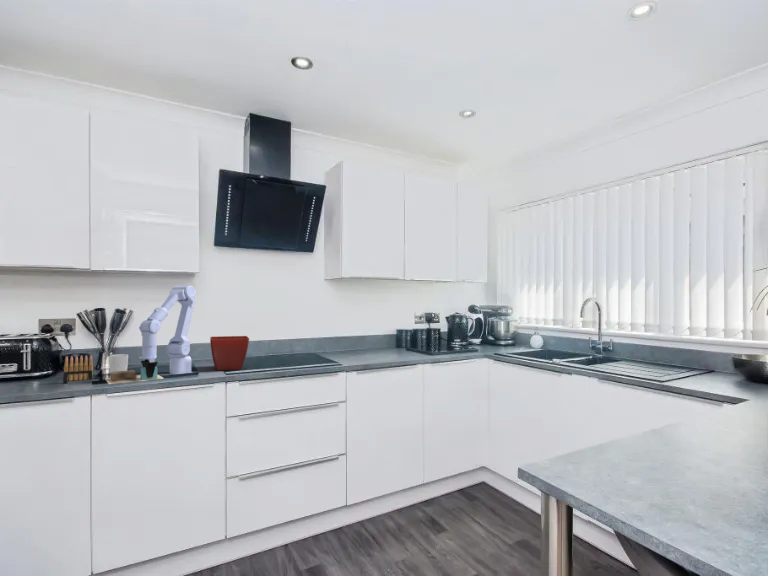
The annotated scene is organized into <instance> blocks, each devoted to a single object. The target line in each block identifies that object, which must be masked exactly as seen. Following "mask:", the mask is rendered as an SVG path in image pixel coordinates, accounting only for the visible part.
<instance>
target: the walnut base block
mask: <svg viewBox="0 0 768 576" xmlns="http://www.w3.org/2000/svg"><path fill="white" fill-rule="evenodd" d="M136 375H137V371H135V370H134V369H130V370H127V371H118V372H111V375H110V378H111V380H112V381H118V380H128V379H136Z"/></svg>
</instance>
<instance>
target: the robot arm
mask: <svg viewBox="0 0 768 576" xmlns="http://www.w3.org/2000/svg"><path fill="white" fill-rule="evenodd" d="M196 293H197V292H196V289H195V288H194V286H192V285H174V286H173V287H172V288H171V289H170V290H169V294H168V296H167V297H166V299H165V300H164V302H163V304H162V305H161V306H160V307H156V308H154V309H153V312H152V313H151V314H150V315H149V317H148V318H147V319H146V320H144V321H142V322H141V323H140V326H139V327H138V329H139V330H140V333H141V337H142V338H141V340H142V344H141V345H142V347H141V348H142V349H141V356H138V359H141V360H140V363H141V365H142V367H145V369H146V375H147V378H150V377H153V374H154V370H155V367H157V365H158V363H159V362H158V361H156V359H157V358H158V355H157V354H158V353H157V347H158V346H157V343H158V342H157V341H158V339H157V338H158V332H159V331H160V330H161V325H162V323H163V321H164V320H166V318H167V317H168V313H169V312H168V311H169V310H171V308H172V307H173V306H174V305H175V304H176V303H177V302H178V303H179V304H180V305H181V308H180V311H179V312H180V313H179V316H178V320H177V325H176V329H175V332H174V336H172V338H170V339H169V342H168V343H167V346H166V348H165V352H166V354H167V355H168V357H169V374H170V375H179V374H180V375H181V374H186V373H187V374H188V373H189V374H190V373H192V358H191V356H190V355H189V353H190V351H191V341H190V339H188V333H189V329H190V323H191V320H192V315H193V312H194V306H195V298H196V295H197V294H196Z"/></svg>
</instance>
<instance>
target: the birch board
mask: <svg viewBox="0 0 768 576" xmlns="http://www.w3.org/2000/svg"><path fill="white" fill-rule="evenodd" d="M163 379H165V378H164V377H163V376H161V375H160V374H158V373H157V379H148V380H141V379H140V374H136V379H128V380H118V381H112V380H111V377H105V378H104V380H105V381H106V383H107V384H108V385H114V384H115V385H117V384H126V383H137V382H145V381H153V380H156V381H157V380H163Z"/></svg>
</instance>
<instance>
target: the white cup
mask: <svg viewBox="0 0 768 576" xmlns="http://www.w3.org/2000/svg"><path fill="white" fill-rule="evenodd" d="M108 358H109V359H108V362H109V363H108V364H109V375H110V376H111V372H118V371H128V368H129V367H128V365H129V354H128V353H127V354H126V353H120V354H119V353H118V354H117V353H116V354H111V355H108Z"/></svg>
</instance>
